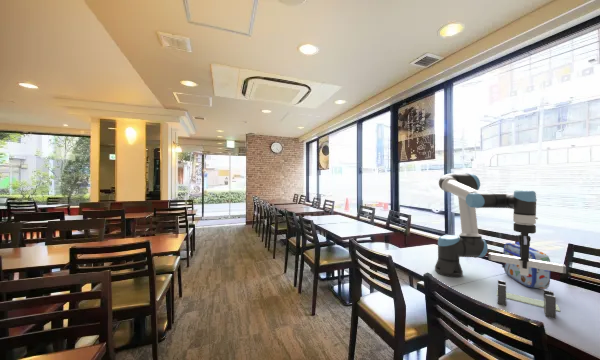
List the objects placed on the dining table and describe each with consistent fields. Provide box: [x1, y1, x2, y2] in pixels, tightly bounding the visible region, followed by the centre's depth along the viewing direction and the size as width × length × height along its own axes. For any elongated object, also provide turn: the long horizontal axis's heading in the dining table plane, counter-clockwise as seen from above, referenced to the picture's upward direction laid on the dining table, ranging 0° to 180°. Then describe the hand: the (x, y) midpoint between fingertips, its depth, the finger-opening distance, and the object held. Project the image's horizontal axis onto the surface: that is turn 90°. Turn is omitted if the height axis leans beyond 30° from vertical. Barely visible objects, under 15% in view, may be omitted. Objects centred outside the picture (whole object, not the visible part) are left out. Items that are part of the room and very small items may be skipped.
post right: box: [543, 289, 557, 320], centre depth 103 cm, size 3×6×10 cm, turn 139°
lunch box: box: [501, 241, 552, 290], centre depth 137 cm, size 28×10×22 cm, turn 168°
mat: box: [496, 289, 561, 312], centre depth 115 cm, size 22×7×1 cm, turn 49°
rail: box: [488, 252, 567, 274], centre depth 109 cm, size 26×3×3 cm, turn 49°
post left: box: [497, 279, 507, 307], centre depth 114 cm, size 3×6×10 cm, turn 139°
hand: (524, 273), depth 109 cm, fingers closed on rail, 3 cm apart
